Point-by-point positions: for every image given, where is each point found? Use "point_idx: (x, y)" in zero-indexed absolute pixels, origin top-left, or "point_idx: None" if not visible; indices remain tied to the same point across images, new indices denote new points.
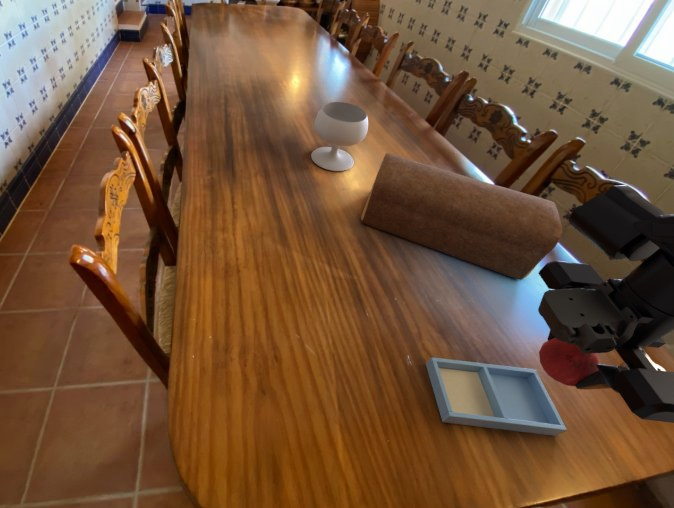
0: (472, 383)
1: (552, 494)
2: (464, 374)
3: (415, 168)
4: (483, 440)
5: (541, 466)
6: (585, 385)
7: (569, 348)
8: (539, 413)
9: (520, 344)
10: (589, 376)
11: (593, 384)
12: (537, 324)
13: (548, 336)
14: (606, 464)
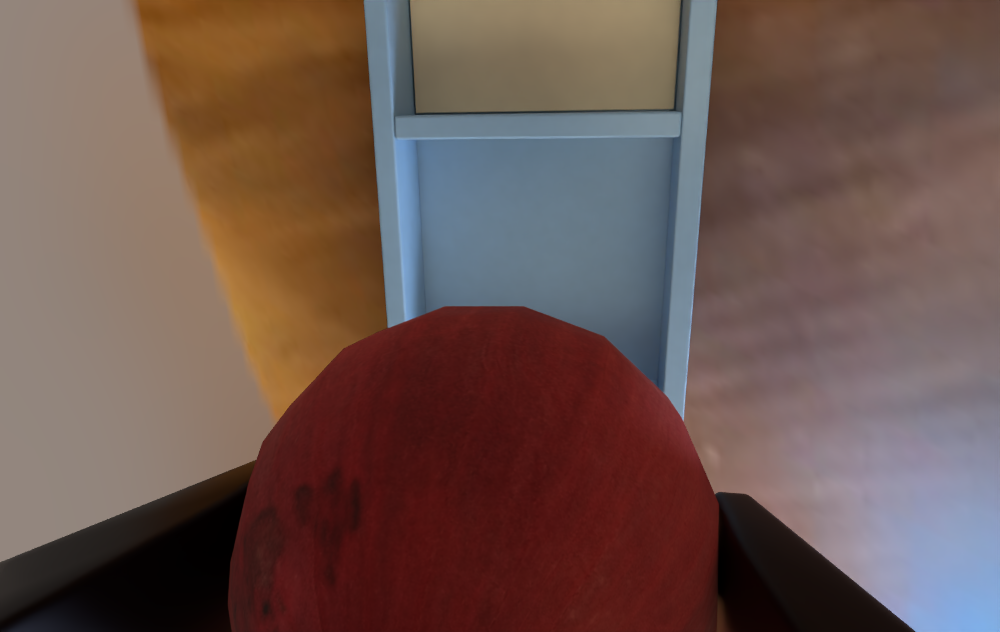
0: (603, 51)
1: (208, 244)
2: (655, 17)
3: None
4: (340, 21)
5: (292, 251)
6: (149, 507)
7: (423, 591)
8: None
9: (859, 456)
10: (63, 579)
11: (8, 562)
12: (983, 611)
13: (765, 511)
14: None
